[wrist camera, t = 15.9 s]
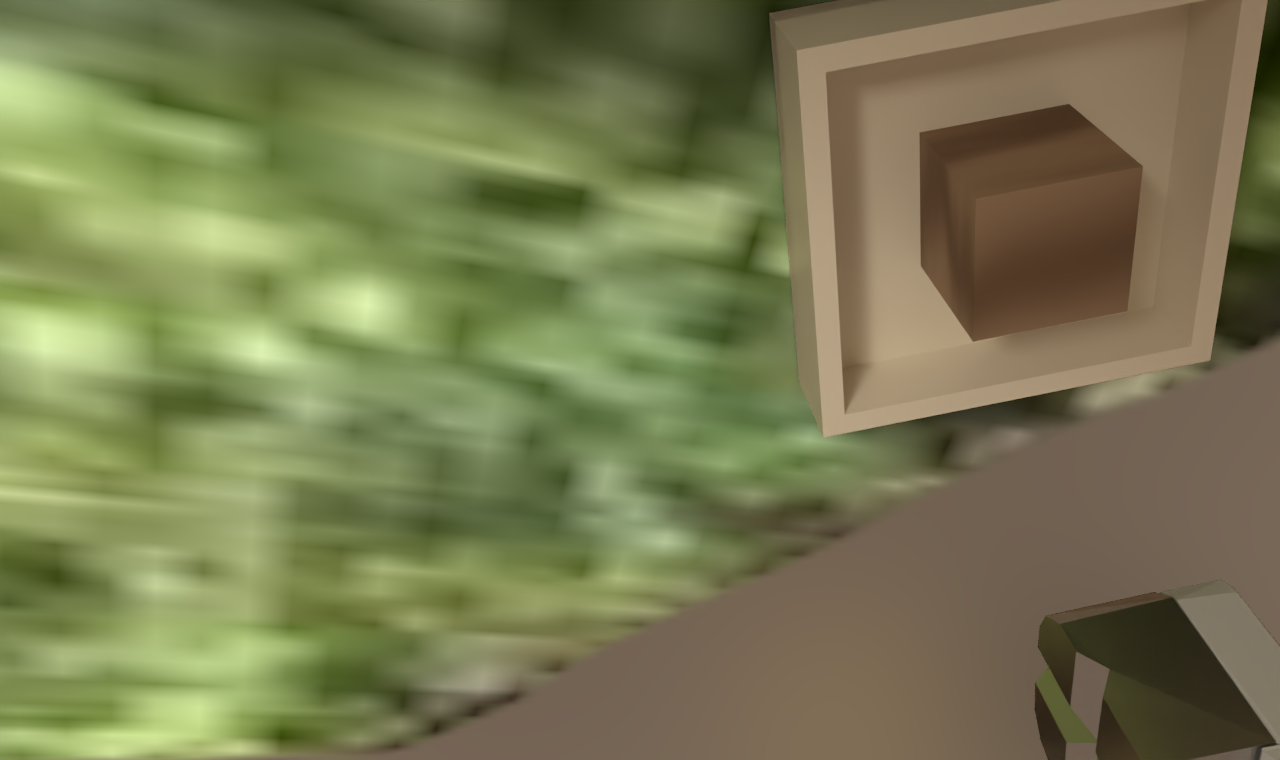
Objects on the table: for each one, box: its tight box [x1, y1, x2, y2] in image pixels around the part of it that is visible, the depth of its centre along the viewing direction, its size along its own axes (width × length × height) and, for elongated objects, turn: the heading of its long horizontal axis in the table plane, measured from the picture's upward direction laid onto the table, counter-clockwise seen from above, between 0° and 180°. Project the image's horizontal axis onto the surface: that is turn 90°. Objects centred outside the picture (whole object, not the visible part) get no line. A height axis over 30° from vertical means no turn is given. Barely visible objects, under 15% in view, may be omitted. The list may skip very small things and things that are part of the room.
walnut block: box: [919, 104, 1143, 342], centre depth 38 cm, size 5×5×5 cm
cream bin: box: [769, 0, 1268, 438], centre depth 39 cm, size 14×14×4 cm
